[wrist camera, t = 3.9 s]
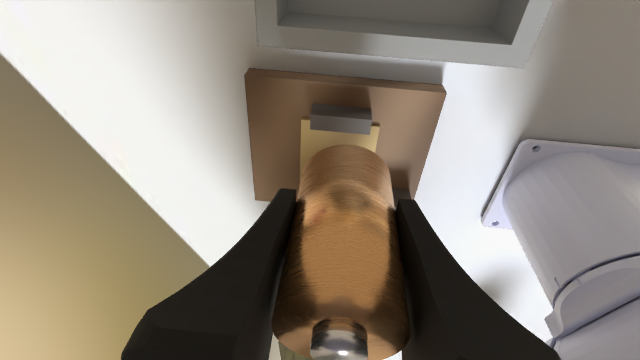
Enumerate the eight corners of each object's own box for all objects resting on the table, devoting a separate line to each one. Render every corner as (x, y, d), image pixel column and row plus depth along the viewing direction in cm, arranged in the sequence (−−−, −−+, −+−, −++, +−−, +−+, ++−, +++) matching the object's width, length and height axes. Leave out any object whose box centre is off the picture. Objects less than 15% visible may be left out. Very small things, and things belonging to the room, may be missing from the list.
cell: (398, 148, 14) (430, 325, 8) (382, 217, 16) (397, 390, 10) (302, 140, 14) (262, 307, 8) (301, 209, 16) (270, 376, 10)
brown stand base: (442, 85, 20) (456, 111, 18) (407, 204, 27) (413, 238, 24) (249, 68, 21) (232, 91, 18) (258, 190, 27) (247, 221, 24)
